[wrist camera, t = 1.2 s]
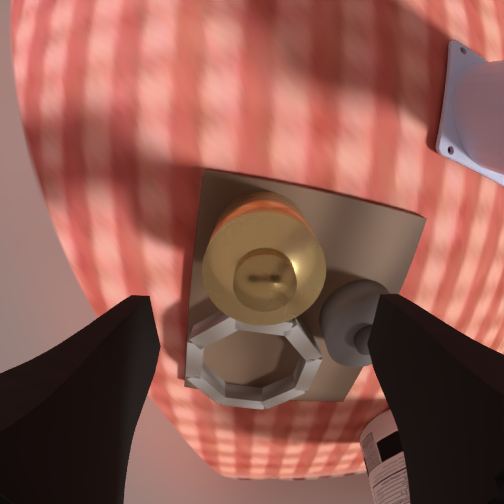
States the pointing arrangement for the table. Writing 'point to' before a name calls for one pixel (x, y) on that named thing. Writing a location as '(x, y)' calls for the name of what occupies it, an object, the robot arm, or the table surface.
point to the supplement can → (385, 460)
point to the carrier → (315, 317)
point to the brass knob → (263, 260)
